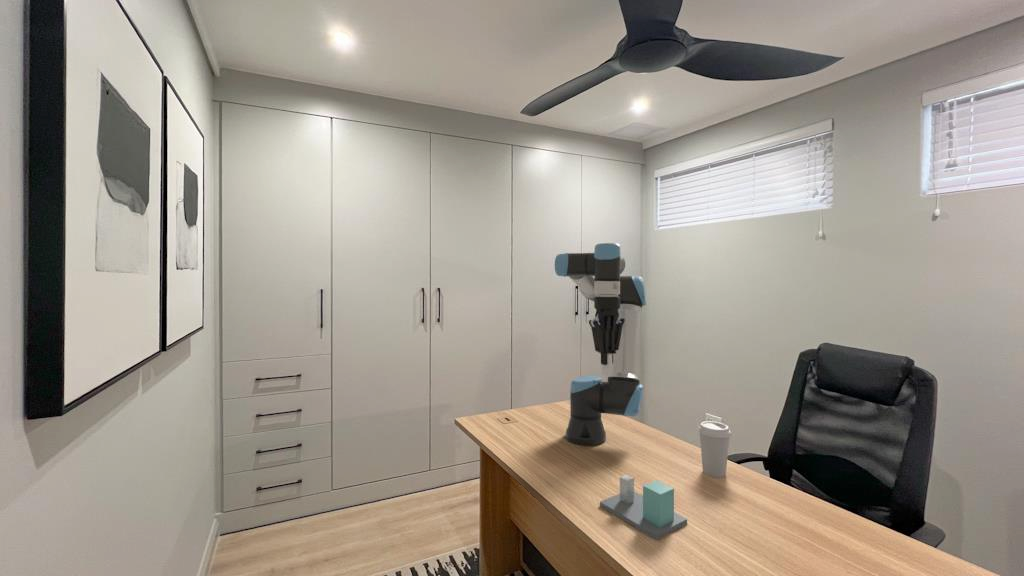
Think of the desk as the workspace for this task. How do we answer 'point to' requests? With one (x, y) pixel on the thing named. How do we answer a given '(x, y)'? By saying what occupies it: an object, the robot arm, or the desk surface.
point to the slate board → (640, 516)
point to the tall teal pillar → (658, 503)
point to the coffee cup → (714, 447)
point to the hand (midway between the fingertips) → (607, 375)
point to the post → (627, 489)
